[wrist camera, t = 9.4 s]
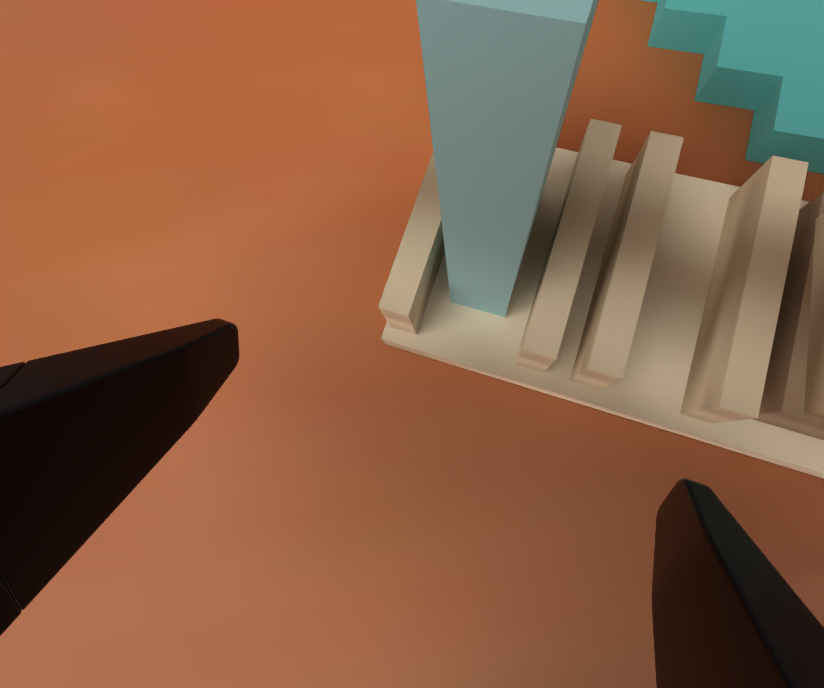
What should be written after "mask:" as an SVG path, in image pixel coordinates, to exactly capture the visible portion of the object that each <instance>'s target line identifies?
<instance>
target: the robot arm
mask: <svg viewBox="0 0 824 688" xmlns="http://www.w3.org/2000/svg"><path fill="white" fill-rule="evenodd" d="M238 360H239V341H238V329H237V327H236V325H235V324H233V323H231V322H228V321H225V320H222V319H212V320H208V321H203V322H199V323H194V324H190V325H185V326H181V327H177V328H172V329H168V330H163V331H159V332H154V333H150V334H145V335H141V336H137V337H132V338H128V339H123V340H119V341H114V342H110V343H105V344H101V345H96V346H92V347H88V348H83V349H79V350H74V351H70V352H65V353H61V354H56V355H52V356H48V357H43V358H39V359H34V360H30V361H27V362H26V363H24V362H20V363H16V364H12V365H7V366H3V367H0V636H1V635H2V633H3V632H4V631H5V630H6V629H7V628H8V627H9V626H10V625H11V624H12V622H13V621H14V620H15V619H16V618H17V617H18V616H19V615H20V614H21V610H24V609H25V608H26V607H27V606H28V604H29V603H30V602H31V601H32V600H33V599H34V598H35V597H36V596H37V595H38V593H39V592H40V591H41V590H42V589H43V588H44V587H45V586H46V585H47V584H48V582H49V581H50V580H51V579H52V578H53V577H54V576H55V575H56V574H57V573H58V572H59V570H60V569H61V568H62V567H63V566H64V565H65V564H66V563H67V562H68V561H69V559H70V558H71V557H72V556H73V555H74V554H75V553H76V552H77V551H78V550H79V548H80V547H81V546H82V545H83V544H84V543H85V542H86V541H87V540H88V539H89V538H90V536H91V535H92V534H93V533H94V532H95V531H96V530H97V529H98V528H99V527H100V525H101V524H102V523H103V522H104V521H105V520H106V519H107V518H108V517H109V516H110V514H111V513H112V512H113V511H114V510H115V509H116V508H117V507H118V506H119V505H120V503H121V502H122V501H123V500H124V499H125V498H126V497H127V496H128V495H129V494H130V493H131V491H132V490H133V489H134V488H135V487H136V486H137V485H138V484H139V483H140V482H141V480H142V479H143V478H144V477H145V476H146V475H147V474H148V473H149V472H150V471H151V469H152V468H153V467H154V466H155V465H156V464H157V463H158V462H159V461H160V460H161V458H162V457H163V456H164V455H165V454H166V453H167V452H168V451H169V450H170V449H171V448H172V446H173V445H174V444H175V443H176V442H177V441H178V440H179V439H180V438H181V437H182V435H183V434H184V433H185V432H186V431H187V430H188V429H189V428H190V427H191V425H192V424H193V423H194V422H195V421H196V420H197V418H198V417H199V416H200V414H201V413H202V412H203V411H204V409H205V408H206V407H207V405H208V404H209V402H210V401H211V400H212V398H213V397H214V396H215V394H216V393H217V392H218V390H219V389H220V387H221V386H222V385H223V383H224V382H225V381H226V379H227V378H228V376H229V375H230V374H231V372H232V371H233V370H234V368H235V367H236V365H237V363H238ZM652 617H653V634H654V650H655V667H656V684H657V688H824V627H823V626H822V625H821V624H820V622H819V621H818V620H817V619H816V618H815V616H814V615H813V614H812V613H811V611H810V610H809V609H808V608H807V606H806V605H805V604H804V603H803V602H802V600H801V599H800V598H799V597H798V595H797V594H796V593H795V592H794V591H793V589H792V588H791V587H790V586H789V584H788V583H787V582H786V581H785V579H784V578H783V577H782V576H781V575H780V573H779V572H778V571H777V570H776V568H775V567H774V566H773V565H772V564H771V562H770V561H769V560H768V559H767V557H766V556H765V555H764V554H763V552H762V551H761V550H760V549H759V548H758V546H757V545H756V544H755V543H754V541H753V540H752V539H751V538H750V537H749V535H748V534H747V533H746V532H745V530H744V529H743V528H742V527H741V525H740V524H739V523H738V522H737V521H736V519H735V518H734V517H733V516H732V514H731V513H730V512H729V511H728V510H727V508H726V507H725V506H724V505H723V503H722V502H721V501H720V500H719V499H718V497H717V496H716V495H715V494H714V492H713V491H712V490H711V489H710V488H709V487H708V486H707V485H704V484H702V483H699V482H696V481H693V480H690V479H687V478H683V479H680V480H679V481H678V482H677V483H676V485H675V486H674V487H673V489H672V490H671V492H670V493H669V494H668V496H667V497H666V499H665V500H664V501H663V503H662V504H661V506H660V508H659V510H658V513H657V519H656V534H655V549H654V565H653V581H652Z"/></svg>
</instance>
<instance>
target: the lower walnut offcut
mask: <svg viewBox="0 0 824 688" xmlns="http://www.w3.org/2000/svg"><path fill="white" fill-rule="evenodd" d="M823 213H824V192H823V193H821V194H820V195H818V196H817V197H816V198H814V199H813V200H812V201H810V202H809V203H807V204H806V205H805V206H803V207H802V208H801V209H799V214H798V219H797V224H796V229H795V234H794V239H793V244H792V249H791V254H790V259H789V264H788V269H787V275H786V280H785V285H784V290H783V295H782V300H781V305H780V310H779V315H778V320H777V325H776V330H775V335H774V340H773V345H772V350H771V355H770V360H769V365H768V370H767V375H766V380H765V385H764V390H763V395H762V400H761V405H760V410H759V415H758V418H756V419H753V420H756V421H759V422H763V423H766V424H770V425H773V426H776V427H780V428H783V429H787V430H790V431H793V432H797V433H800V434H804V435H807V436H810V437H814V438H817V439H821V440H824V418H822V417H817V416H812V415H806V414H804V403H805V387H806V370H807V354H808V337H809V321H810V304H811V288H812V271H813V255H814V238H815V222H816V218H817V217H819V216H820V215H822V214H823Z"/></svg>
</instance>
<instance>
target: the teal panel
mask: <svg viewBox="0 0 824 688" xmlns="http://www.w3.org/2000/svg"><path fill="white" fill-rule="evenodd" d="M416 4H417V12H418V21H419V30H420V38H421V47H422V56H423V64H424V73H425V82H426V90H427V99H428V108H429V116H430V125H431V134H432V142H433V151H434V160H435V168H436V177H437V186H438V194H439V203H440V212H441V220H442V229H443V238H444V246H445V255H446V264H447V272H448V281H449V290H450V298H451V302H452V303H456V304H459V305H463V306H466V307H470V308H473V309H477V310H480V311H484V312H488V313H491V314H495V315H498V316H502V317H505V315H506V312H507V309H508V306H509V302H510V299H511V296H512V292H513V289H514V286H515V282H516V279H517V276H518V273H519V269H520V266H521V263H522V259H523V256H524V253H525V250H526V246H527V243H528V240H529V236H530V233H531V230H532V226H533V223H534V220H535V217H536V213H537V210H538V207H539V203H540V200H541V197H542V194H543V190H544V187H545V183H546V180H547V176H548V173H549V169H550V166H551V163H552V159H553V156H554V152H555V149H556V145H557V142H558V138H559V135H560V131H561V128H562V125H563V121H564V118H565V114H566V111H567V107H568V104H569V100H570V97H571V94H572V90H573V87H574V83H575V80H576V76H577V73H578V69H579V66H580V62H581V59H582V56H583V52H584V49H585V45H586V42H587V38H588V35H589V31H590V28H591V24H592V21H593V18H594V14H595V11H596V7H597V4H598V0H416Z"/></svg>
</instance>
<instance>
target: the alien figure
mask: <svg viewBox="0 0 824 688" xmlns="http://www.w3.org/2000/svg"><path fill="white" fill-rule="evenodd" d="M642 1H650V2H658V4H657V8H656V13H655V17H654V21H653V25H652V30H651V34H650V38H649V42H648V46H650V47H657V48H664V49H671V50H678V51H684V52H691V53H698V54H704V57H703V62H702V67H701V72H700V77H699V81H698V86H697V91H696V96H695V101H698V102H705V103H711V104H717V105H723V106H730V107H736V108H742V109H748V110H754V115H753V120H752V126H751V131H750V136H749V142H748V147H747V153H746V158H745V160H747V161H753V162H759V163H764V164H765V163H766V162H767V161H768V160H769V159H770V158H771V157H772V156H778V157H783V158H788V159H793V160H798V161H803V162H808V163H809V164H808V169H807V171H809V172H815V173H821V174H824V0H642Z"/></svg>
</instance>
